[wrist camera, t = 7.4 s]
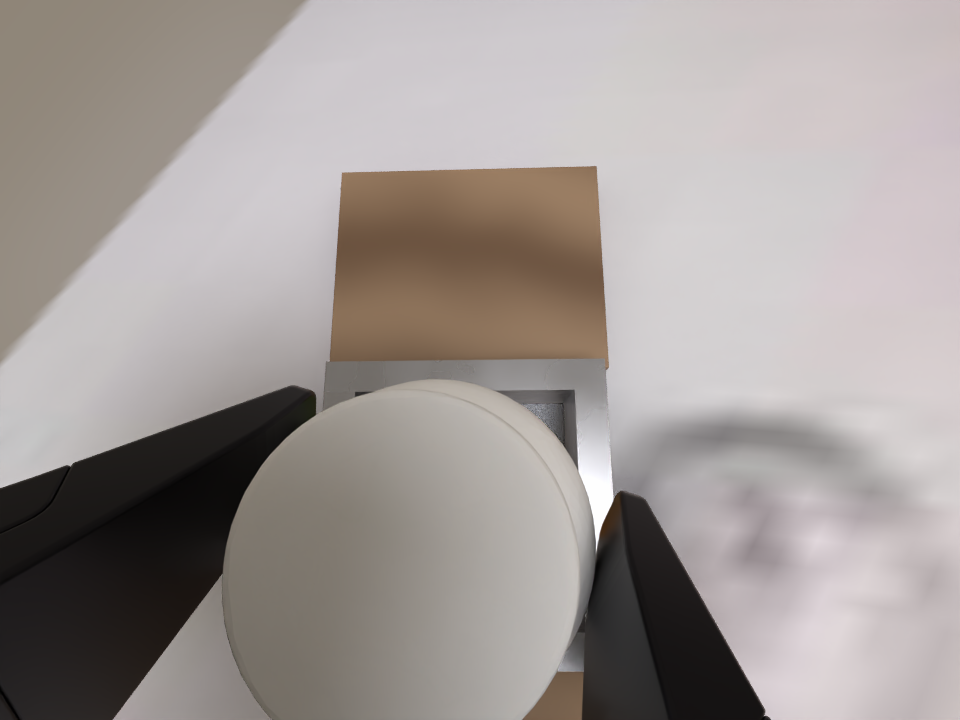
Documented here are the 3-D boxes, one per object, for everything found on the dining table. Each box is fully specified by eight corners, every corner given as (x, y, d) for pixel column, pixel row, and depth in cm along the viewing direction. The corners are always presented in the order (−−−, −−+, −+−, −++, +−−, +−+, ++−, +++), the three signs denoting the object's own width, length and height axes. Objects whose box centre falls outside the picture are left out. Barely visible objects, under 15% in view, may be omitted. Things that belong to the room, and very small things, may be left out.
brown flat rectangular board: (635, 936, 15) (646, 973, 14) (305, 926, 16) (290, 962, 15) (590, 183, 21) (596, 166, 20) (350, 189, 21) (342, 172, 20)
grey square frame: (602, 639, 17) (623, 672, 14) (337, 637, 18) (305, 668, 15) (588, 376, 19) (605, 358, 16) (352, 379, 20) (326, 361, 17)
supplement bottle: (393, 407, 16) (234, 293, 6) (567, 439, 15) (674, 369, 6) (350, 593, 15) (76, 792, 5) (538, 633, 14) (614, 933, 5)
